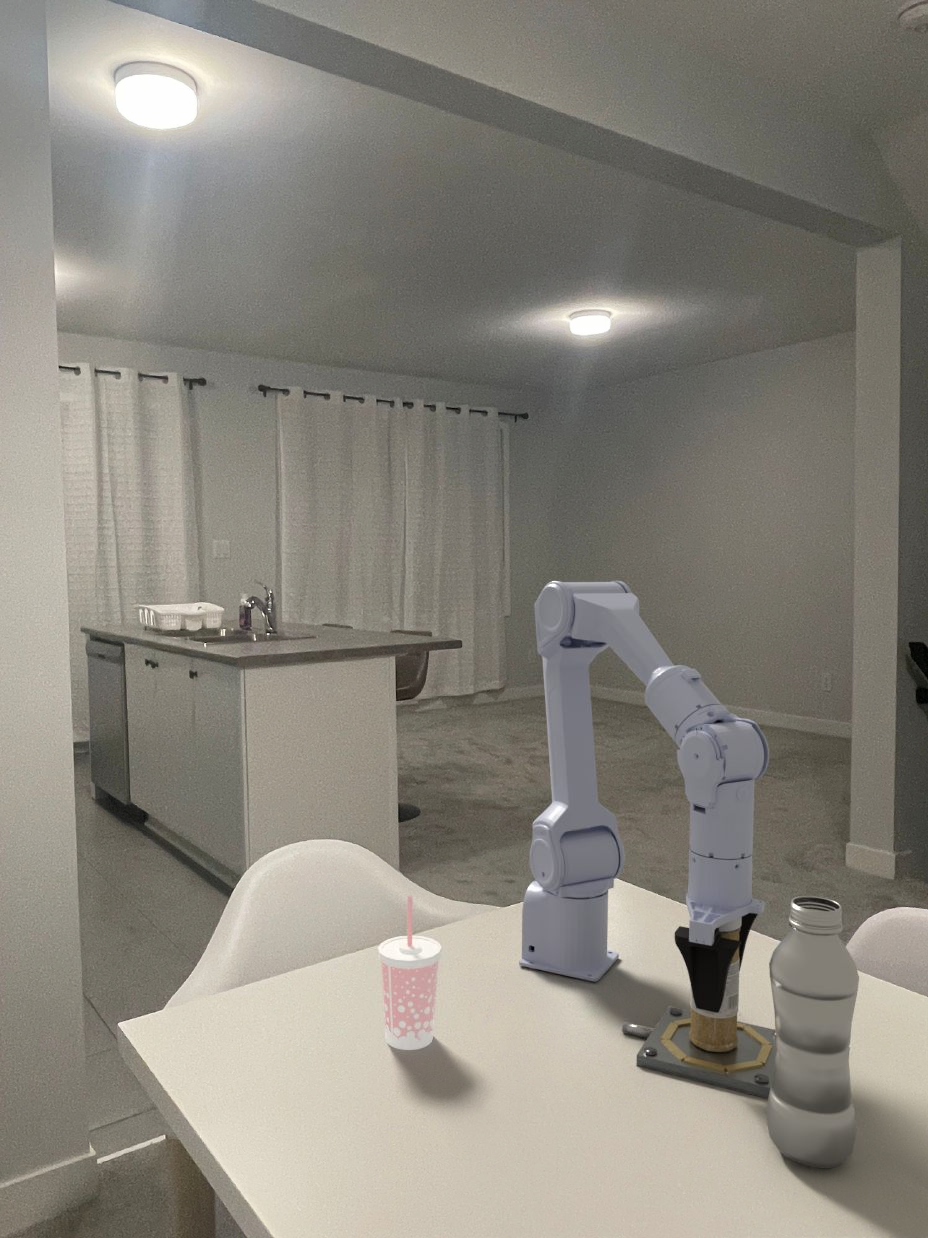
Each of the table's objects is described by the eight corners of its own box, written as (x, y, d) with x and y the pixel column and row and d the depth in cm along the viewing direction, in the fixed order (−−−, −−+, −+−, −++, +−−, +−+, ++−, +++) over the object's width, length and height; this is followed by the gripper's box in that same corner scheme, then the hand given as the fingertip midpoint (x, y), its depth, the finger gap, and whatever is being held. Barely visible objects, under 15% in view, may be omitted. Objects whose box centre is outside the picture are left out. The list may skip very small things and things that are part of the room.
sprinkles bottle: (710, 1026, 94) (714, 891, 93) (748, 1046, 90) (752, 905, 90) (678, 1039, 91) (681, 900, 91) (715, 1060, 88) (719, 915, 87)
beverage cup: (454, 1037, 94) (454, 896, 93) (408, 1061, 89) (408, 913, 88) (410, 1017, 98) (410, 881, 97) (364, 1038, 93) (364, 896, 92)
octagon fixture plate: (605, 1057, 90) (605, 1045, 90) (640, 1009, 100) (640, 998, 100) (771, 1099, 83) (771, 1086, 83) (791, 1043, 93) (791, 1031, 93)
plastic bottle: (847, 1192, 71) (855, 926, 70) (754, 1161, 75) (761, 908, 73) (862, 1147, 76) (870, 900, 75) (775, 1120, 80) (782, 884, 79)
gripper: (749, 880, 81) (745, 1036, 82) (778, 837, 94) (774, 972, 95) (666, 867, 85) (663, 1017, 85) (706, 827, 97) (703, 958, 98)
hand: (717, 993), depth 90 cm, fingers open, 7 cm apart
